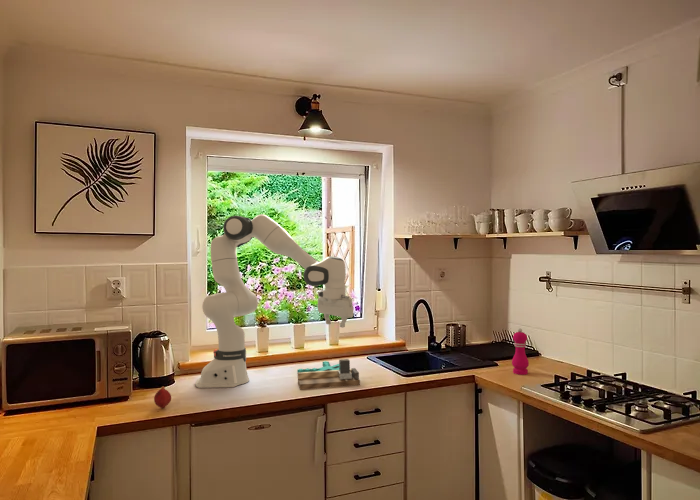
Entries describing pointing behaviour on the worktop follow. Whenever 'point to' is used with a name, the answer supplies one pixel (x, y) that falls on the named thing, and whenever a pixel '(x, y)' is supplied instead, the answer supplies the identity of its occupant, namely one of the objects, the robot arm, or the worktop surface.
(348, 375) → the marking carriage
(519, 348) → the pepper mill
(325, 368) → the alien figure
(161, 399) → the onion
